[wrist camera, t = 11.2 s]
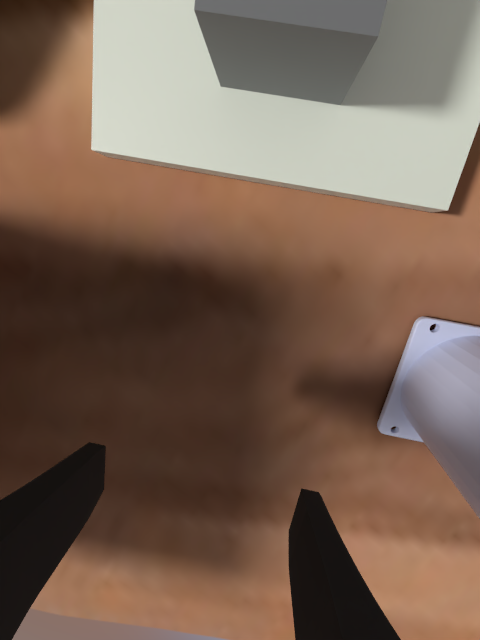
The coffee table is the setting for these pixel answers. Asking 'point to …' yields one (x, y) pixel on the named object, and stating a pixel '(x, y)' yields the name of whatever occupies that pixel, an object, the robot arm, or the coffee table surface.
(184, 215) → the coffee table surface
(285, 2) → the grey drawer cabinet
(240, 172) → the plate
